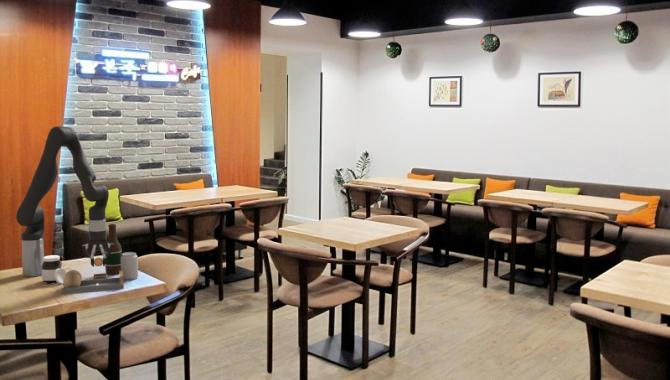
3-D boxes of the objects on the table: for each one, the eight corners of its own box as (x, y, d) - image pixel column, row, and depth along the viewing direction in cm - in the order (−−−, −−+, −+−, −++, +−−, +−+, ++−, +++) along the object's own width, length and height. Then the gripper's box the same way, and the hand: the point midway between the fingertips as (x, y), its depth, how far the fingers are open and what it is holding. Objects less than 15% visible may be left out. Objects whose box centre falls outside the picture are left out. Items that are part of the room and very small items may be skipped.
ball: (93, 267, 283) (93, 259, 283) (94, 265, 287) (93, 256, 286) (103, 266, 284) (102, 258, 284) (103, 264, 288) (103, 256, 288)
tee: (93, 283, 283) (92, 277, 282) (93, 280, 288) (93, 274, 288) (107, 282, 285) (106, 276, 284) (107, 279, 290) (107, 273, 290)
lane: (62, 293, 268) (61, 288, 267) (64, 286, 278) (63, 282, 278) (119, 288, 275) (119, 283, 275) (119, 282, 286) (119, 277, 285)
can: (133, 280, 288) (132, 255, 286) (118, 280, 289) (117, 254, 288) (141, 276, 295) (140, 251, 294) (126, 275, 297) (125, 251, 295)
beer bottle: (126, 272, 302) (124, 223, 299) (112, 276, 296) (110, 226, 293) (115, 270, 307) (113, 222, 304) (102, 273, 300) (99, 224, 297)
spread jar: (48, 279, 291) (46, 254, 289) (73, 278, 292) (71, 254, 291) (38, 286, 279) (37, 260, 278) (64, 285, 280) (63, 260, 279)
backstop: (119, 288, 275) (119, 276, 275) (119, 282, 286) (119, 270, 285) (123, 288, 276) (123, 276, 275) (123, 281, 286) (122, 269, 285)
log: (63, 291, 269) (62, 275, 268) (65, 286, 277) (64, 270, 276) (81, 289, 271) (80, 274, 270) (82, 284, 279) (81, 269, 278)
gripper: (114, 226, 289) (115, 263, 291) (81, 228, 285) (82, 265, 287) (114, 230, 282) (115, 267, 284) (80, 231, 278) (81, 269, 280)
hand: (98, 265), depth 286 cm, fingers closed on ball, 4 cm apart
